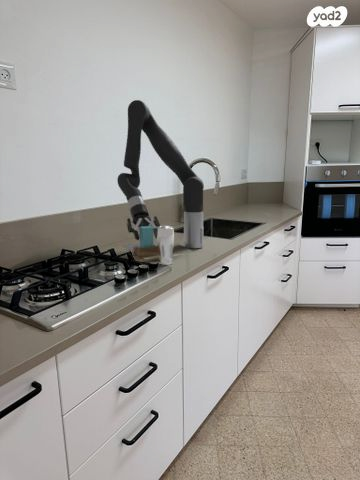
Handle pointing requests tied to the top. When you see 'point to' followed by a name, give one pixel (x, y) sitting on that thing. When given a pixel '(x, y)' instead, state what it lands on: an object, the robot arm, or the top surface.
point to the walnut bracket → (146, 253)
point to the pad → (131, 246)
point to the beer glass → (165, 244)
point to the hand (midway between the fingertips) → (147, 238)
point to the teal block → (146, 236)
